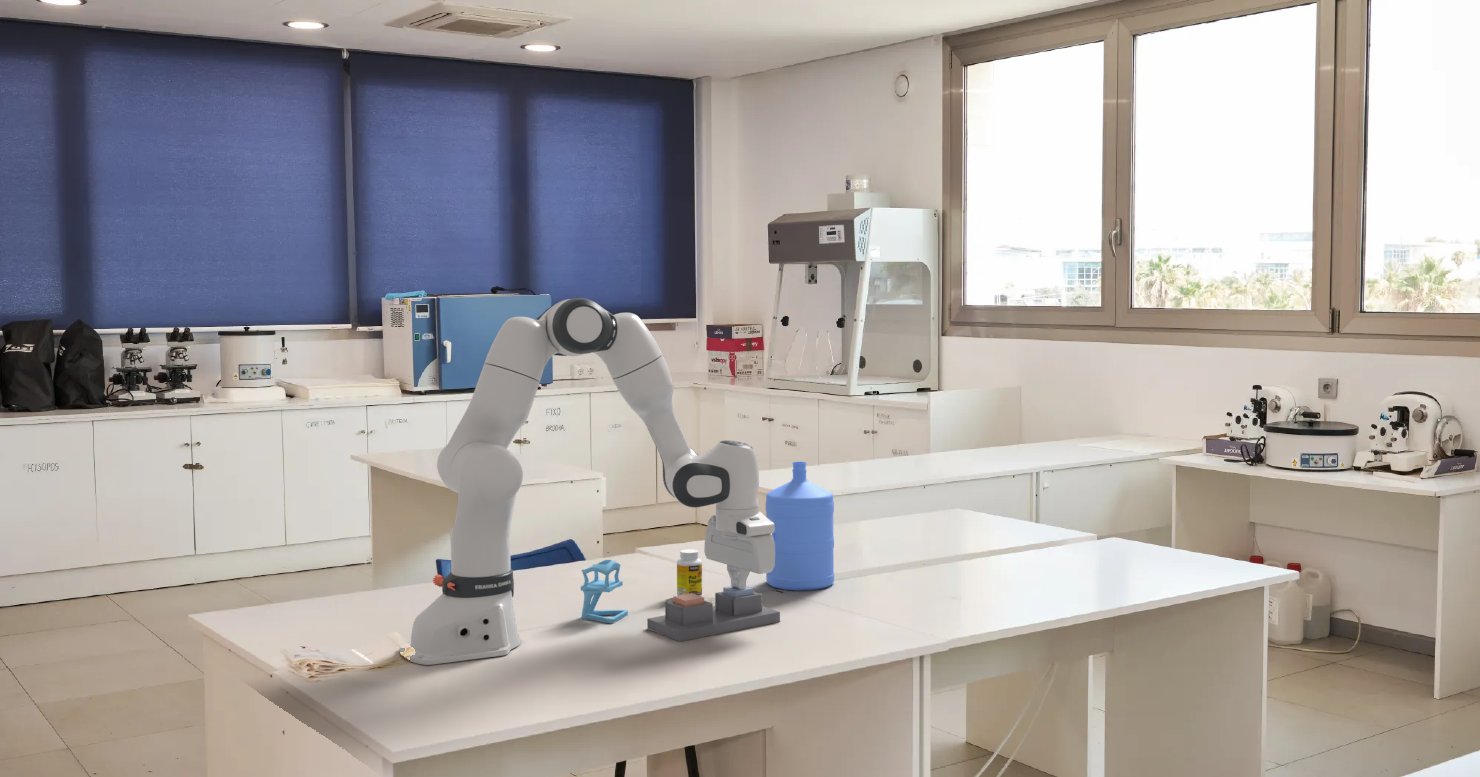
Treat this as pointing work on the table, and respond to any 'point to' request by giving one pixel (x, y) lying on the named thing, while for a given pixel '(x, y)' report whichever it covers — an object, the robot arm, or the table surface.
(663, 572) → the table surface
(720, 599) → the grey piece
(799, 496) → the water jug
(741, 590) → the slate key
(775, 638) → the table surface
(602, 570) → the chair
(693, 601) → the terracotta key
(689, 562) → the supplement bottle
